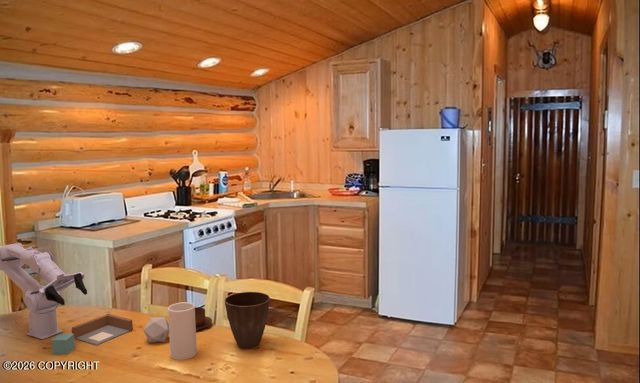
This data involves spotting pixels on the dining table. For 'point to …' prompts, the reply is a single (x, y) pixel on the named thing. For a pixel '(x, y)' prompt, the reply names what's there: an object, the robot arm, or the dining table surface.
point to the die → (157, 329)
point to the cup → (182, 330)
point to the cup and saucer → (201, 318)
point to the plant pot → (247, 317)
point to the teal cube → (63, 344)
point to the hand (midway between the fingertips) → (74, 297)
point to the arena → (102, 329)
